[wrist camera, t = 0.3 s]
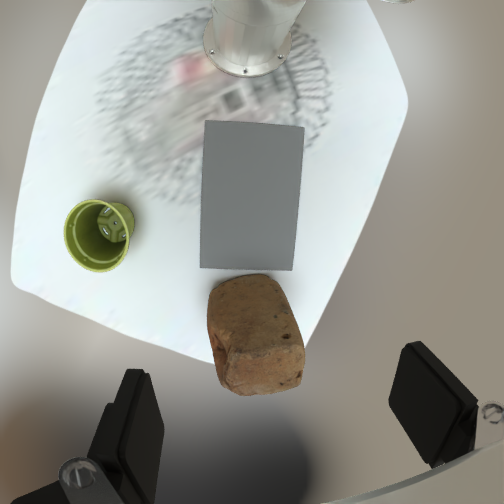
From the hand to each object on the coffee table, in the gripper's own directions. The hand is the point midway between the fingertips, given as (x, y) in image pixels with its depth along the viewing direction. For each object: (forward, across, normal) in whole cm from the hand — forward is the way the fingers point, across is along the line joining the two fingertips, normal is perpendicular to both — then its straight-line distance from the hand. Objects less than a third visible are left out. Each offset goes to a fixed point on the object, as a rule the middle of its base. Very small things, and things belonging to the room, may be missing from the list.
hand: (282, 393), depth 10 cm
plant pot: (+37, +18, 0) cm, 41 cm away
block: (+37, -1, +12) cm, 39 cm away
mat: (+36, -2, -3) cm, 37 cm away
